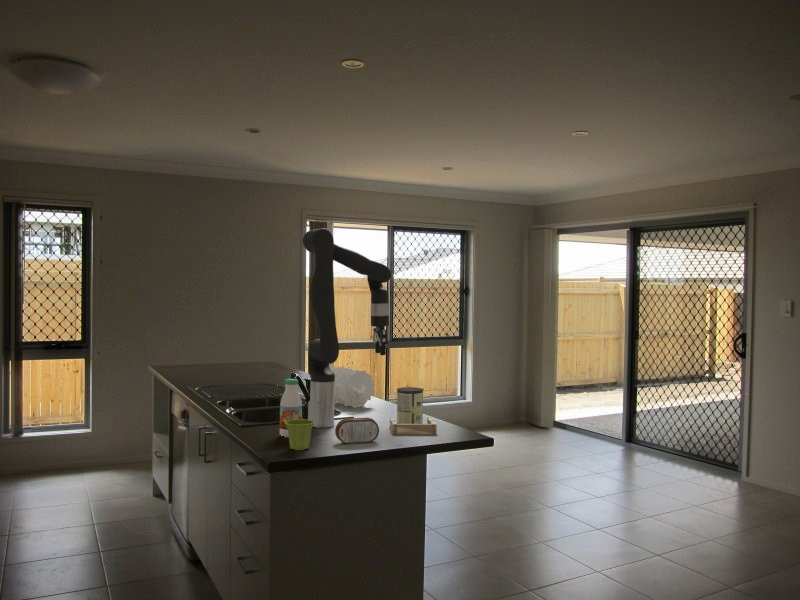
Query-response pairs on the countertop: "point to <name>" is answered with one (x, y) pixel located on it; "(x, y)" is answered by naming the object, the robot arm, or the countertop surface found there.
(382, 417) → the countertop surface
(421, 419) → the coffee can
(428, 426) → the wooden tray
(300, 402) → the milk bottle
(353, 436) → the tin
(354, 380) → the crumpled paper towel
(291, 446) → the plant pot
